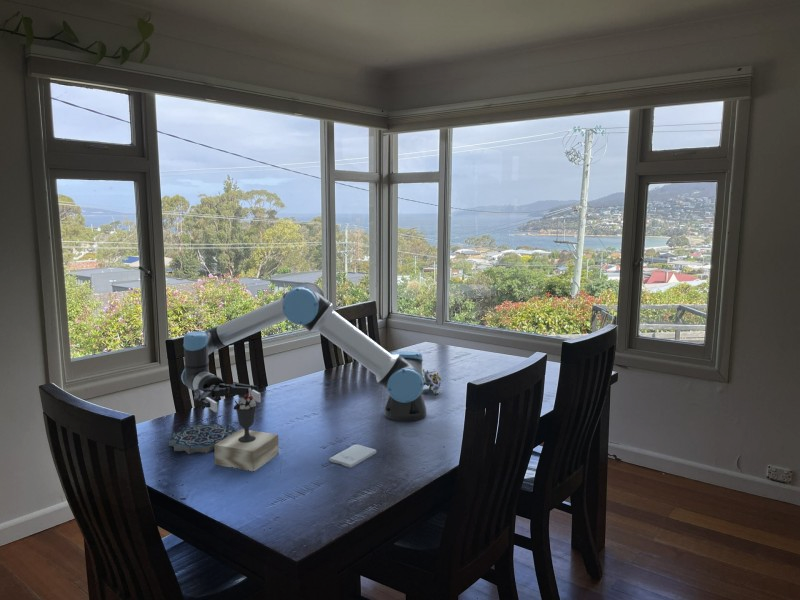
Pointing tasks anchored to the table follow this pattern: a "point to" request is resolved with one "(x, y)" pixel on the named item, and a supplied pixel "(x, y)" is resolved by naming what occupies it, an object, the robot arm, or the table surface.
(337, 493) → the table surface
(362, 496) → the table surface
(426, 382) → the passion flower
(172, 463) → the table surface
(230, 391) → the robot arm
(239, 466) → the block
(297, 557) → the table surface
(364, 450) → the external hard drive
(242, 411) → the sundae
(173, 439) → the decorative tile
